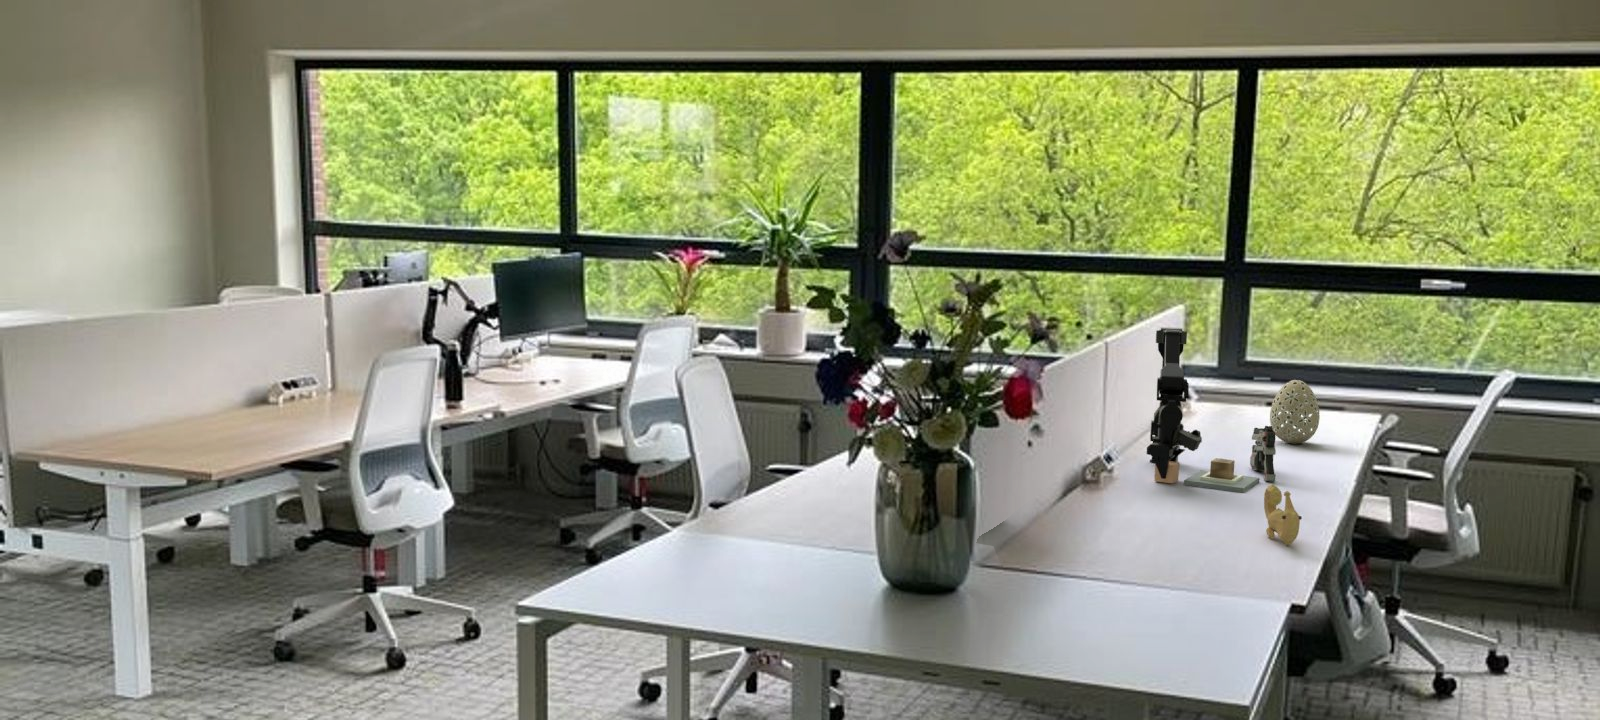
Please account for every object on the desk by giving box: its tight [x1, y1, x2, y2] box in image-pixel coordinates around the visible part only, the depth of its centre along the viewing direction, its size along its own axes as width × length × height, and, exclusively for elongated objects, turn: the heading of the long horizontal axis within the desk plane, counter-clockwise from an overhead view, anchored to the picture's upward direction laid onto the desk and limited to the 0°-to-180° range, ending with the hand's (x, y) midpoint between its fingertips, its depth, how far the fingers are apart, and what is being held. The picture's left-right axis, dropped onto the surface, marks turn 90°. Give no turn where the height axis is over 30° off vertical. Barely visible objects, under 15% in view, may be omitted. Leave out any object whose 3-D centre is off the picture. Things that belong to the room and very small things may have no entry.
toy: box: [1263, 483, 1302, 546], centre depth 328 cm, size 5×12×20 cm
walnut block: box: [1209, 458, 1236, 480], centre depth 388 cm, size 5×5×5 cm
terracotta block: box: [1154, 461, 1180, 484], centre depth 389 cm, size 5×5×5 cm
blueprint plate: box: [1183, 469, 1260, 493], centre depth 388 cm, size 16×16×2 cm
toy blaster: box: [1249, 425, 1277, 482], centre depth 400 cm, size 4×21×15 cm, turn 174°
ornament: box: [1269, 379, 1321, 445], centre depth 447 cm, size 15×15×20 cm
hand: (1166, 476), depth 389 cm, fingers closed on terracotta block, 5 cm apart
